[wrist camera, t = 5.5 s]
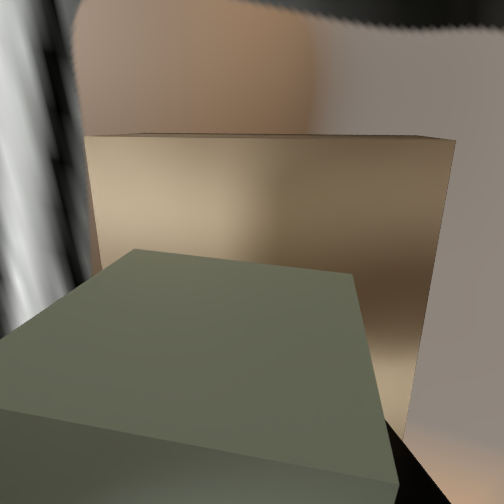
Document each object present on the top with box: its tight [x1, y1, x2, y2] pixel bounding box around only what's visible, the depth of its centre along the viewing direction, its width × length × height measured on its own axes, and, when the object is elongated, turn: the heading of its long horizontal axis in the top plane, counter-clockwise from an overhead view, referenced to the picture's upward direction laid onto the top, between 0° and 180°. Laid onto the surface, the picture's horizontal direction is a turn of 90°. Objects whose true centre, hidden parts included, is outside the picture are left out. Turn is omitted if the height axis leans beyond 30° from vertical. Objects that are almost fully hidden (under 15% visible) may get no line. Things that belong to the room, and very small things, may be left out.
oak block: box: [84, 133, 456, 441], centre depth 13 cm, size 10×10×4 cm
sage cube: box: [0, 249, 399, 504], centre depth 7 cm, size 5×5×5 cm
